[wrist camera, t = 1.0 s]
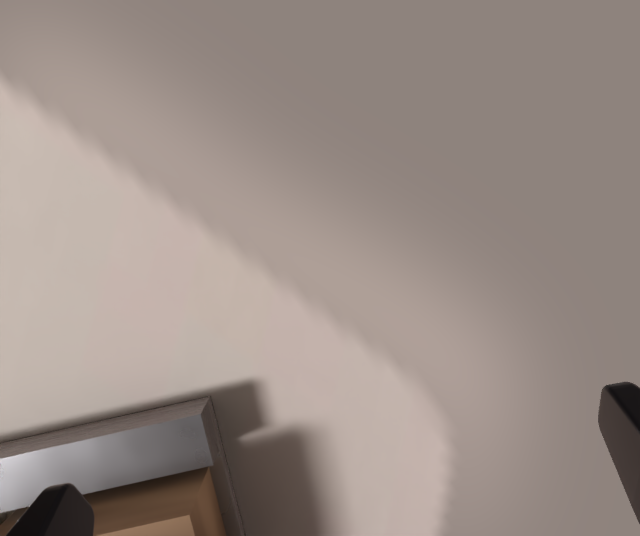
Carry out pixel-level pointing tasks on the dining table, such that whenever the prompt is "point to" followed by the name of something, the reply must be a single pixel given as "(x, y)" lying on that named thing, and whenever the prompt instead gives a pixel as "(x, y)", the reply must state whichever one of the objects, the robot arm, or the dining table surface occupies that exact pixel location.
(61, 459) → the rail bed
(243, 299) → the dining table surface
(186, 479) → the tan wooden brick
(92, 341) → the dining table surface
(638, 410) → the robot arm
